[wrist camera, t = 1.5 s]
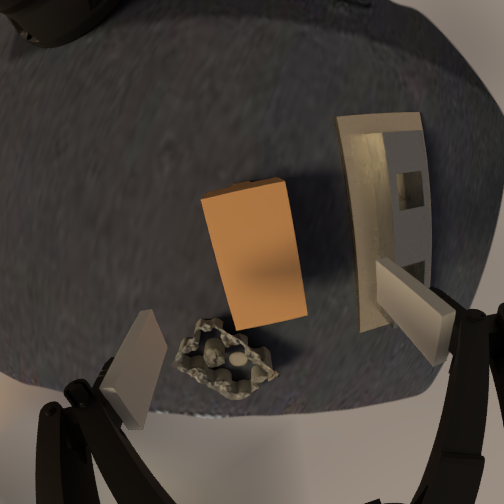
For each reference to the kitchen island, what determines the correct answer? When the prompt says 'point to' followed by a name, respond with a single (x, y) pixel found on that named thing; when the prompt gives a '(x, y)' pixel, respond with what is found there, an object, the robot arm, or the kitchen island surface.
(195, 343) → the egg carton
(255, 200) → the orange toy brick
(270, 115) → the kitchen island surface
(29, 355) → the kitchen island surface
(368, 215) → the beige grey stepped block
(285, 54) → the kitchen island surface
